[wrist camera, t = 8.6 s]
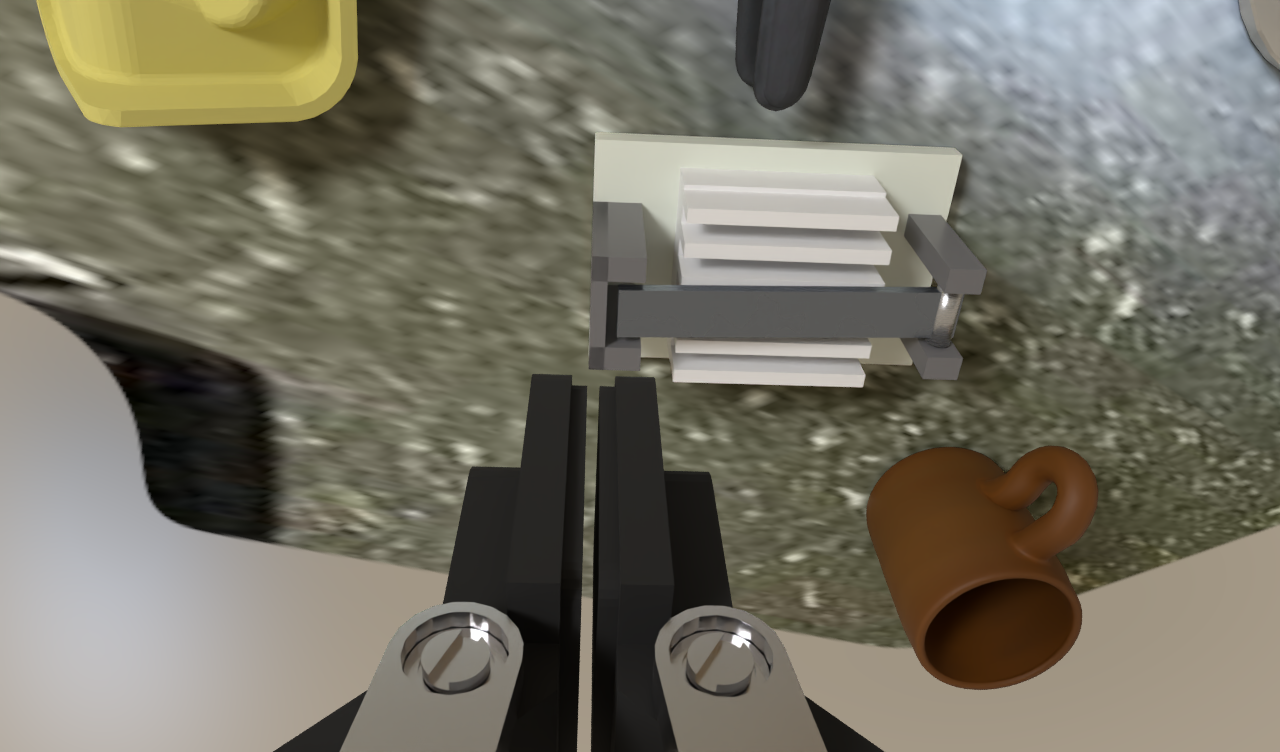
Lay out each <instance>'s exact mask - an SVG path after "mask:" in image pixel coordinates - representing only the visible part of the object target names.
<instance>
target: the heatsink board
mask: <svg viewBox="0 0 1280 752" xmlns="http://www.w3.org/2000/svg"><path fill="white" fill-rule="evenodd" d="M962 156H963V155H962V154H960V153H959V152H958V151H957V150H956V149H955V148H947V147H924V146H902V145H879V144H856V143H834V142H811V141H788V140H766V139H743V138H720V137H698V136H675V135H652V134H630V133H607V132H595V162H594V195H593V228H592V262H591V295H590V328H589V369H596V370H631V371H640V361H641V357H649V358H669V361H670V363H671V371H672V379H673V382H693V383H728V384H763V385H798V386H834V387H863V384H864V380H865V373H864V371H863V369H862V367H861V364H883V365H912V362H913V363H914V364H915V366H916V368H917V370H918V372H919V373H920V375H921V377H922V379H940V380H957V378H958V375H959V371H960V367H961V364H962V360H963V358H962V356H961V355H960V353H959V352H958V350H957V349H956V347H955V346H954V344H953V342H952V341H951V342H950V345H949V346H947V347H935V346H932V345H929V344H928V343H926V342H925V340H924V339H925V338H733V337H617V336H616V316H617V295H618V285H739V286H864V287H931V283H932V279H933V278H934V279H935V281H936V282H937V284H938V285H939V287H940V288H941V289H942V291H943V292H944V293H948V294H977V295H981V291H982V288H983V284H984V280H985V277H986V273H987V270H986V268H985V267H984V266H983V265H982V264H981V262H980V261H979V260H978V259H977V258H976V256H975V255H974V254H973V253H972V252H971V250H970V249H969V248H968V247H967V246H966V245H965V243H964V242H963V241H962V240H961V239H960V237H959V236H958V235H957V234H956V233H955V231H954V230H953V229H952V228H951V227H950V225H949V224H948V223H947V222H946V221H947V217H948V213H949V209H950V205H951V201H952V197H953V193H954V189H955V184H956V180H957V176H958V172H959V168H960V164H961V160H962Z"/></svg>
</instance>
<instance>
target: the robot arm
mask: <svg viewBox="0 0 1280 752" xmlns="http://www.w3.org/2000/svg"><path fill="white" fill-rule="evenodd" d="M1239 6H1240V13H1241V16H1242V18H1243V21H1244V24H1245V26H1246V29H1247V31H1248V34H1249V36H1250V39H1251V40H1252V41H1253V43H1254V44H1255V45H1256V47H1257V48H1258V50H1259V51H1260V52H1261V54H1262V55H1263V56H1264V58H1265V59H1266V60H1267V61H1269V62H1270V63H1271V64H1272V65H1274V66H1275V67H1276V68H1278V69H1279V70H1280V0H1239ZM586 408H587V386H572V375H551V374H532V379H531V388H530V396H529V404H528V412H527V420H526V428H525V436H524V444H523V452H522V460H521V468H511V467H472V468H471V469H470V473H469V476H468V481H467V486H466V491H465V496H464V501H463V506H462V511H461V516H460V521H459V526H458V531H457V536H456V541H455V546H454V551H453V556H452V561H451V566H450V571H449V576H448V582H447V586H446V591H445V596H444V601H443V604H442V605H437V606H433V607H431V608H429V609H427V610H424V611H422V612H420V613H418V614H416V615H414V616H413V617H412V618H410V619H409V620H408V621H407V622H406V623H404V624H403V625H402V626H401V627H400V628H399V629H398V631H397V632H396V633H395V635H394V636H393V638H392V639H391V641H390V642H389V644H388V646H387V649H386V651H385V653H384V655H383V657H382V660H381V662H380V664H379V666H378V668H377V671H376V673H375V675H374V677H373V680H372V682H371V684H370V686H369V688H368V690H367V691H365V692H364V693H362V694H361V695H359V696H358V697H356V698H355V699H353V700H351V701H350V702H349V703H347V704H346V705H344V706H342V707H341V708H339V709H338V710H336V711H335V712H333V713H332V714H330V715H329V716H327V717H325V718H324V719H322V720H321V721H320V722H318V723H316V724H315V725H314V726H312V727H310V728H309V729H307V730H306V731H304V732H302V733H301V734H299V735H298V736H296V737H295V738H293V739H292V740H290V741H289V742H287V743H286V744H284V745H283V746H281V747H280V748H278V749H277V750H275V751H273V752H577V730H578V729H577V728H578V696H579V695H578V694H579V663H580V661H579V660H580V630H581V597H582V561H583V523H584V485H585V446H586ZM592 632H593V634H592V715H591V716H592V717H591V752H884V751H882V750H881V749H880V748H878V747H877V746H875V745H874V744H873V743H871V742H870V741H868V740H867V739H866V738H864V737H863V736H861V735H860V734H858V733H857V732H855V731H854V730H853V729H851V728H850V727H848V726H847V725H846V724H844V723H843V722H841V721H840V720H839V719H837V718H836V717H834V716H833V715H831V714H830V713H829V712H827V711H826V710H824V709H823V708H821V707H820V706H819V705H817V704H815V703H814V702H813V701H812V700H810V699H809V698H807V697H806V696H804V693H803V691H802V689H801V686H800V684H799V681H798V679H797V676H796V674H795V671H794V669H793V667H792V664H791V662H790V659H789V657H788V654H787V652H786V649H785V647H784V645H783V644H782V642H781V641H780V639H779V637H778V636H777V634H776V632H775V631H773V630H772V629H771V628H770V627H769V626H768V625H767V624H766V623H764V622H763V621H762V620H761V619H759V618H757V617H755V616H753V615H751V614H749V613H747V612H745V611H743V610H739V609H735V608H733V607H732V601H731V594H730V588H729V582H728V576H727V570H726V564H725V558H724V552H723V545H722V539H721V533H720V527H719V521H718V515H717V509H716V503H715V496H714V490H713V484H712V479H711V475H710V473H709V472H688V471H664V469H663V458H662V448H661V437H660V426H659V415H658V404H657V394H656V383H655V378H654V377H620V376H616V377H615V387H606V386H600V391H599V416H598V443H597V469H596V495H595V522H594V552H593V630H592Z"/></svg>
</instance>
